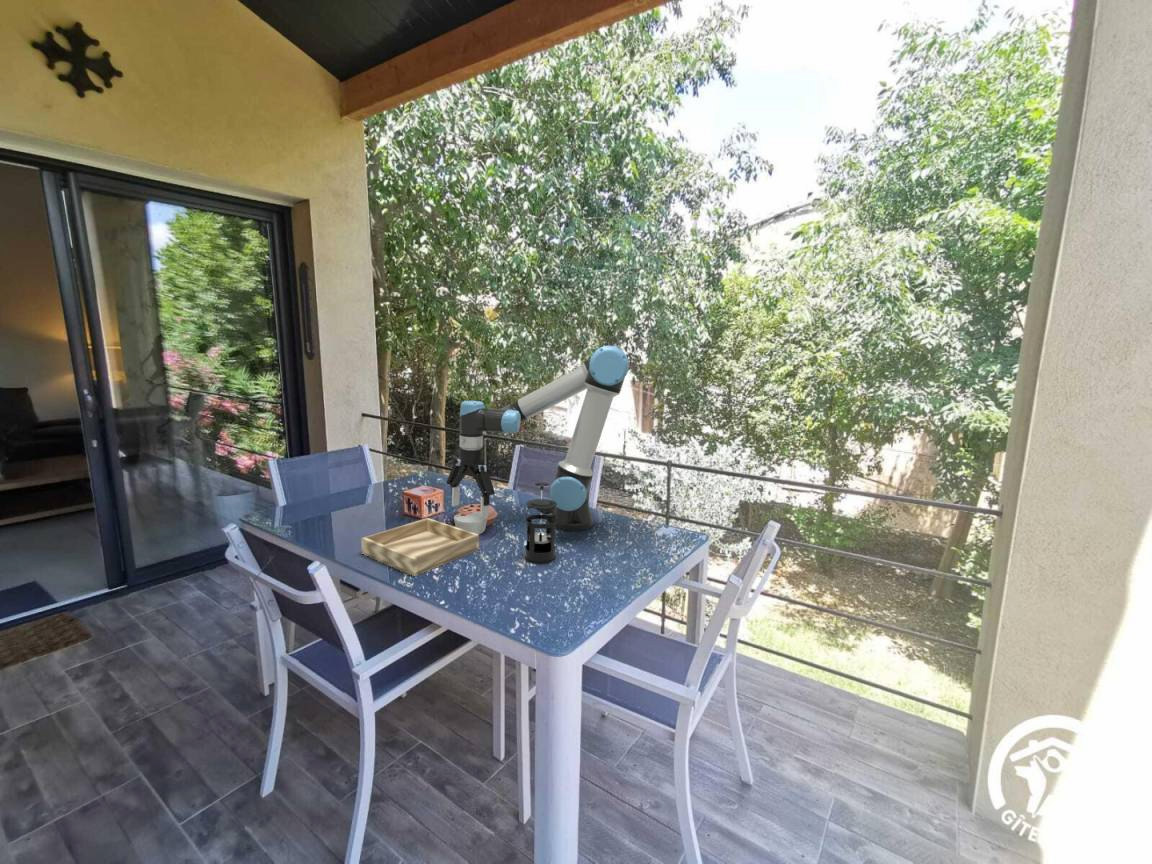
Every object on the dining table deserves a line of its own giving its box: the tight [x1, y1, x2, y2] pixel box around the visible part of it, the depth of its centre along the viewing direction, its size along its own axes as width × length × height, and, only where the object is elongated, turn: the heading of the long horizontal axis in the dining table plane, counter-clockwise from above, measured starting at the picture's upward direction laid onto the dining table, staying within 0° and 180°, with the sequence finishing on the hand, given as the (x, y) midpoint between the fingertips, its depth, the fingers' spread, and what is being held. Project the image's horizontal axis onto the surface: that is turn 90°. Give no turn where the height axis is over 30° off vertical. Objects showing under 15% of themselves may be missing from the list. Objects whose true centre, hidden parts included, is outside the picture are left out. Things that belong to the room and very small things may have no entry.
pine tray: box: [360, 517, 480, 577], centre depth 153 cm, size 24×24×5 cm
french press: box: [523, 481, 557, 565], centre depth 151 cm, size 12×9×23 cm
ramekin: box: [453, 511, 488, 535], centre depth 172 cm, size 11×11×5 cm
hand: (469, 510), depth 171 cm, fingers open, 13 cm apart
